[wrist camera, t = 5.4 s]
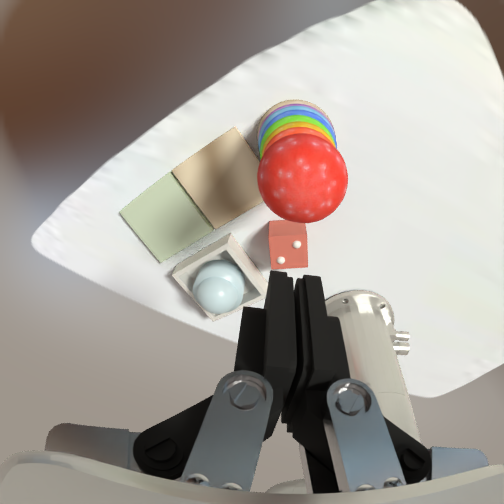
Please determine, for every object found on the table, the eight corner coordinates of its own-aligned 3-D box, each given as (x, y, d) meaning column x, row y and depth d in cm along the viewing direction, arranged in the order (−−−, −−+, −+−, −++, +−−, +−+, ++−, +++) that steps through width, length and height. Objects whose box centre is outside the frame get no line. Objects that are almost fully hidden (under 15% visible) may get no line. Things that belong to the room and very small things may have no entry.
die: (304, 218, 36) (307, 236, 32) (305, 249, 38) (308, 269, 34) (269, 221, 36) (268, 238, 32) (272, 251, 38) (271, 271, 34)
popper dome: (226, 251, 37) (219, 275, 33) (254, 287, 39) (251, 314, 35) (188, 272, 39) (177, 297, 35) (216, 305, 41) (209, 332, 37)
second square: (170, 171, 34) (168, 173, 33) (213, 228, 37) (212, 231, 37) (121, 209, 37) (119, 211, 36) (162, 259, 40) (160, 263, 39)
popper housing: (230, 232, 37) (227, 243, 35) (269, 284, 41) (268, 296, 38) (177, 264, 40) (171, 275, 38) (216, 309, 43) (213, 321, 41)
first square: (235, 126, 31) (234, 127, 30) (278, 190, 34) (278, 192, 34) (173, 168, 34) (171, 170, 33) (216, 226, 37) (215, 229, 36)
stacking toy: (310, 86, 28) (351, 83, 12) (345, 152, 31) (411, 225, 15) (243, 121, 31) (202, 161, 15) (281, 184, 34) (282, 284, 18)
